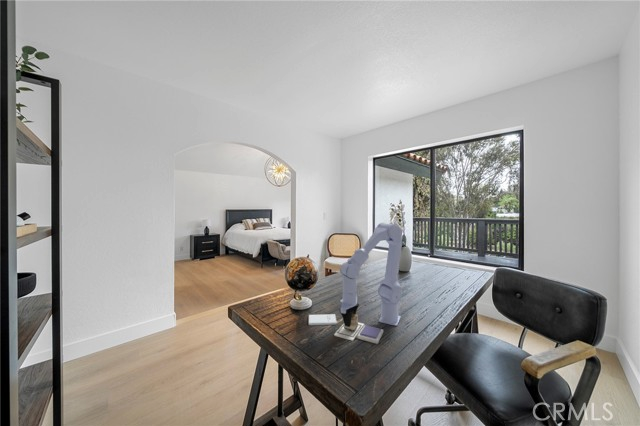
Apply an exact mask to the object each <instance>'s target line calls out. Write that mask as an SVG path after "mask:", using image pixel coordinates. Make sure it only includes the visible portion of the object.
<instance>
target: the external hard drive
mask: <svg viewBox="0 0 640 426" xmlns="http://www.w3.org/2000/svg"><path fill="white" fill-rule="evenodd" d="M332 325H333V326H334V325H338V321H337V316H336V314H335V313H334V314H333V313H331V314H308V326H332Z"/></svg>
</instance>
